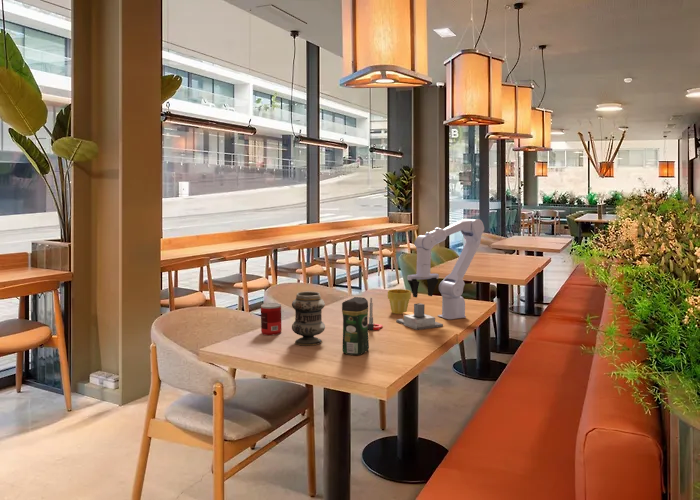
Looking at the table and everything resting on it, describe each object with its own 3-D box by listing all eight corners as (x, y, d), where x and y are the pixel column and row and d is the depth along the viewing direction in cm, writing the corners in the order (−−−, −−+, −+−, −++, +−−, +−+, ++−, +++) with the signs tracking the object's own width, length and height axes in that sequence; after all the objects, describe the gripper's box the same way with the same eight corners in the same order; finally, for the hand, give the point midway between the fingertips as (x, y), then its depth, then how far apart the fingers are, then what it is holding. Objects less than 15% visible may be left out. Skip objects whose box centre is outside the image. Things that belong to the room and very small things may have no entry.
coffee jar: (351, 347, 200) (350, 294, 198) (371, 349, 197) (371, 296, 195) (338, 354, 191) (338, 299, 189) (360, 357, 188) (359, 301, 186)
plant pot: (411, 314, 251) (411, 293, 250) (388, 315, 251) (388, 293, 250) (409, 310, 261) (409, 288, 260) (387, 310, 261) (387, 289, 260)
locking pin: (420, 322, 232) (420, 303, 231) (424, 324, 230) (424, 304, 229) (413, 323, 231) (414, 303, 230) (418, 324, 228) (418, 305, 227)
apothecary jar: (312, 348, 198) (311, 297, 196) (285, 343, 205) (284, 294, 203) (331, 340, 208) (331, 292, 207) (305, 336, 215) (304, 289, 213)
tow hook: (362, 325, 233) (359, 330, 224) (363, 294, 232) (360, 297, 223) (383, 326, 232) (381, 331, 223) (383, 295, 231) (381, 298, 222)
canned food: (284, 331, 223) (284, 303, 222) (275, 336, 216) (275, 307, 215) (267, 329, 226) (266, 302, 225) (257, 334, 218) (257, 306, 217)
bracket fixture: (420, 318, 243) (420, 309, 243) (442, 326, 229) (443, 316, 229) (395, 321, 238) (395, 312, 237) (417, 330, 224) (417, 320, 223)
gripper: (432, 262, 244) (431, 293, 245) (403, 263, 237) (402, 296, 238) (442, 264, 238) (441, 296, 239) (413, 265, 231) (412, 298, 232)
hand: (422, 296), depth 238 cm, fingers open, 7 cm apart
